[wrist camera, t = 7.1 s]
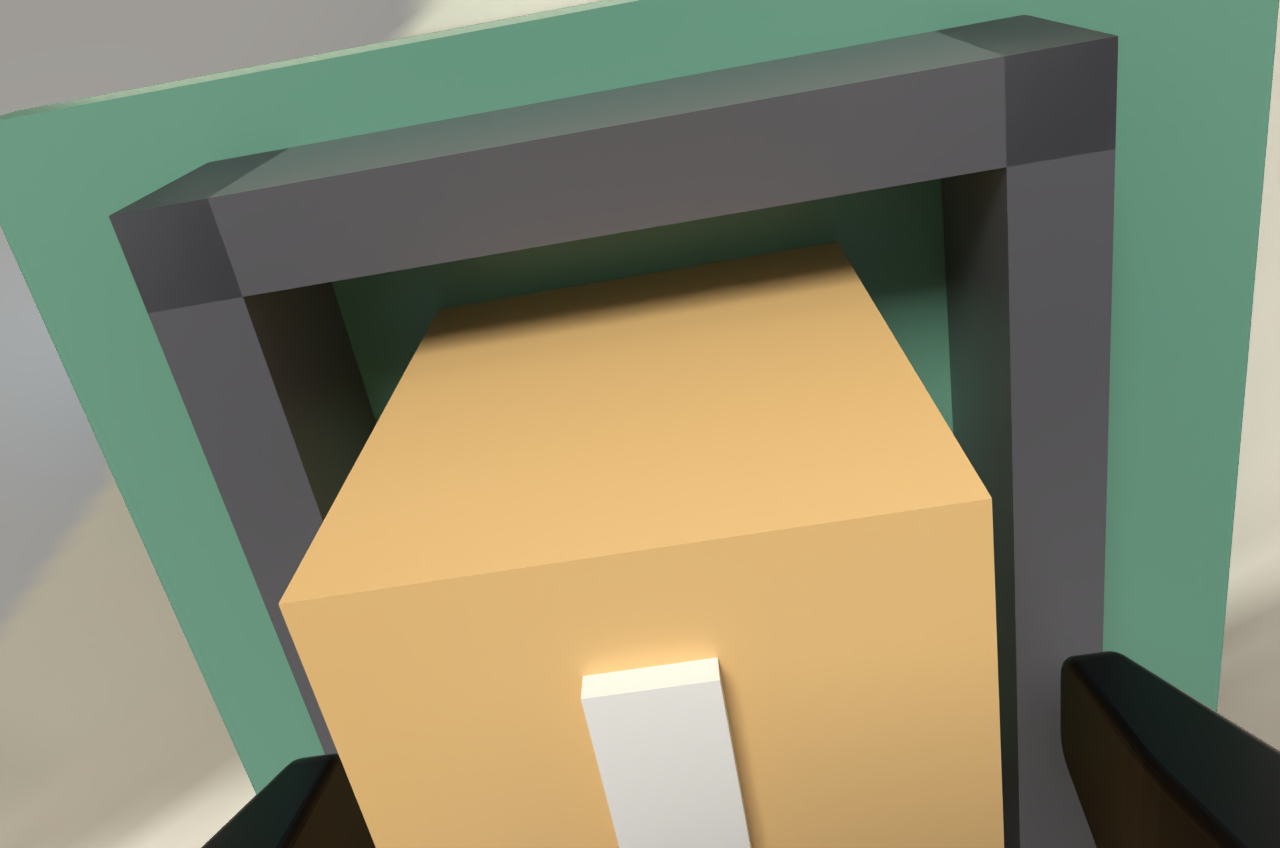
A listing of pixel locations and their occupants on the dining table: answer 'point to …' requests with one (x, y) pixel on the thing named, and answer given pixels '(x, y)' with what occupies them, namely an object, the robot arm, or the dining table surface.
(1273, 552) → the dining table surface
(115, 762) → the dining table surface
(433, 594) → the plug
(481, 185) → the socket board
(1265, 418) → the dining table surface
